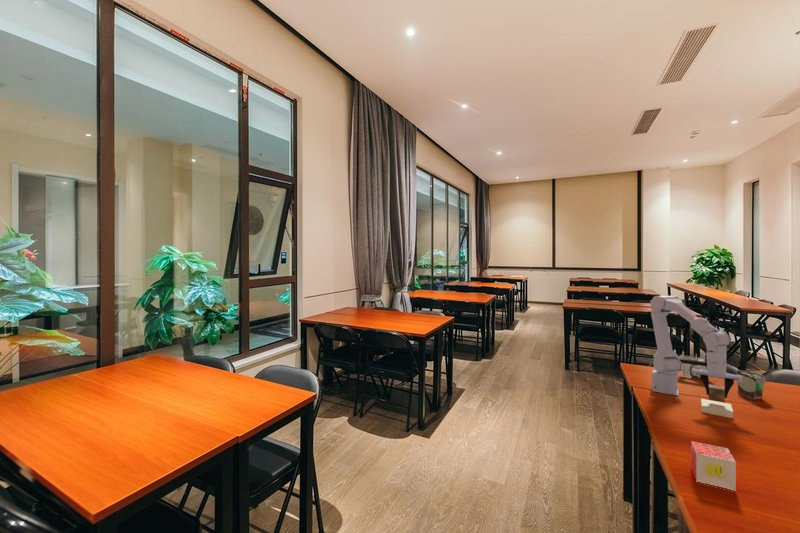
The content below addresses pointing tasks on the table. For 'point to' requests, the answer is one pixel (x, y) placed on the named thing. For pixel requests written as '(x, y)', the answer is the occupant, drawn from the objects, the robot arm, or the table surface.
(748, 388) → the food container
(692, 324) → the robot arm
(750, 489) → the table surface
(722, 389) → the grayish beige block
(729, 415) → the base block
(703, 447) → the pink and white box
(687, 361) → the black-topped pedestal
